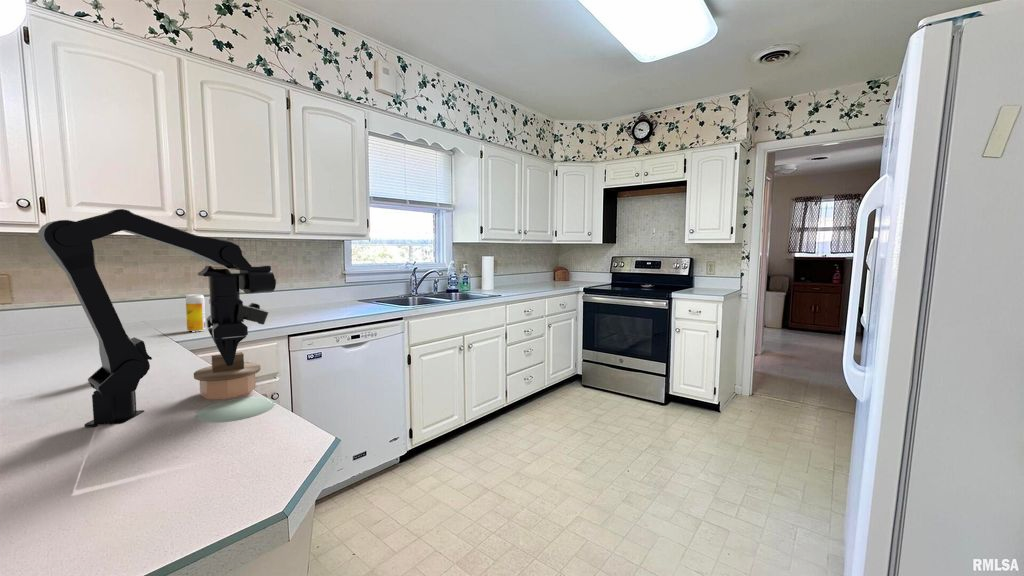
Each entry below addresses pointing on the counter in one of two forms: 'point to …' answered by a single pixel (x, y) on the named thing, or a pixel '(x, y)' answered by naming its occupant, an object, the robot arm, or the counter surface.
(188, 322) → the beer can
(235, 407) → the sage mat
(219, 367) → the walnut lid
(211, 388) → the terracotta bowl
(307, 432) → the counter surface
